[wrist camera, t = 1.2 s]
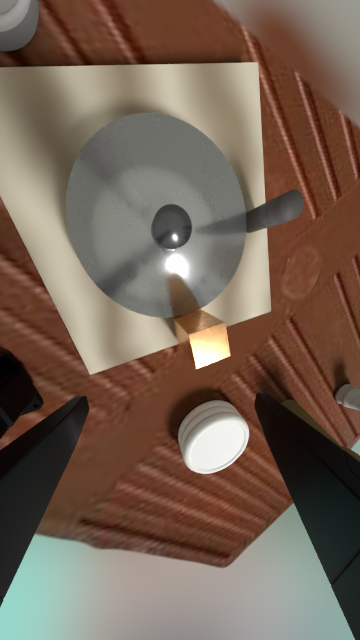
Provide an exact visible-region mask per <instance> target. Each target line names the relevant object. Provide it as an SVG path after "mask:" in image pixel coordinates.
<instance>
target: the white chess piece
mask: <svg viewBox="0 0 360 640" xmlns="http://www.w3.org/2000/svg"><path fill="white" fill-rule="evenodd" d="M335 399H336V401H337V403H339V404H341V403H342V405H343V406H345V407H347V408H352V409H356V410H359V411H360V390H359V389H358V388H356V387H353V385H351V384H344V385H342V386H341V387H340V388H339V389H338V390H337V391H336V394H335Z"/></svg>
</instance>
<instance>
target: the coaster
mask: <svg viewBox="0 0 360 640" xmlns="http://www.w3.org/2000/svg"><path fill="white" fill-rule="evenodd" d="M248 438H249V429H248V426H247V424H246V422H245V420H244V419H243V418H242V417H241V415H240V414H239V413H238V412H237V410H236V408H235V407H234V406H233V405H231V404H230V403H228V402H226V401H221V400H214V401H209V402H206V403H203V404H201V405H199V406H197V407H196V408H194V409H193V410H192V411H191V412H190V413H189V414H188V415H187V416H186V417H185V418H184V420H183V421H182V423H181V425H180V427H179V431H178V442H179V445H180V449H181V452H182V454H183V460H184V462H185V464H186V465H187V467H188V468H189V469H191V470H192V471H195V472H197V473H202V474H207V473H214V472H217V471H219V470H222V469H224V468H226V467H227V466H229V465H230V464H232V463H233V462H234V461H235V460H236V459H237V458H238V457H239V456H240V455H241V453H242V452H243V451H244V449H245V447H246V445H247V442H248Z"/></svg>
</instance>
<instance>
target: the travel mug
mask: <svg viewBox="0 0 360 640" xmlns="http://www.w3.org/2000/svg"><path fill="white" fill-rule="evenodd" d="M38 20H39V2H38V0H0V51H14V50H17V49H20V48H22V47H24V46H25V45H26V44H27V43H28V42H29V41H31V39H32V37H33V35H34V34H35V31H36V28H37V24H38Z"/></svg>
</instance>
